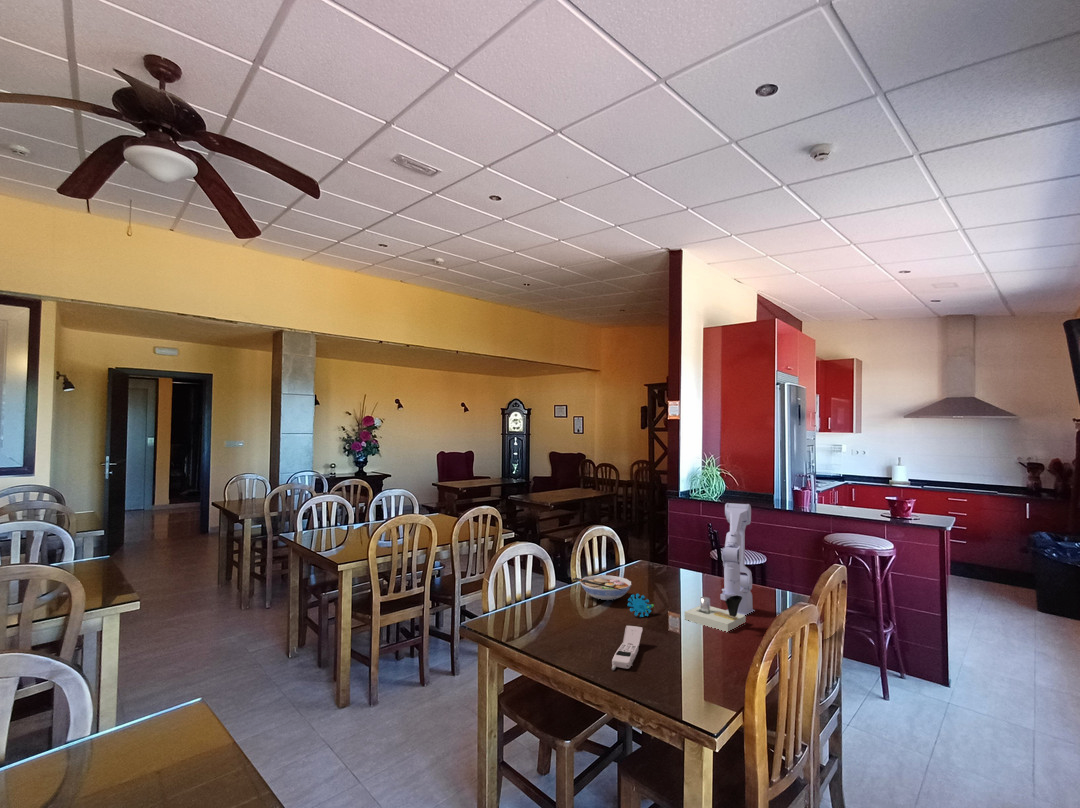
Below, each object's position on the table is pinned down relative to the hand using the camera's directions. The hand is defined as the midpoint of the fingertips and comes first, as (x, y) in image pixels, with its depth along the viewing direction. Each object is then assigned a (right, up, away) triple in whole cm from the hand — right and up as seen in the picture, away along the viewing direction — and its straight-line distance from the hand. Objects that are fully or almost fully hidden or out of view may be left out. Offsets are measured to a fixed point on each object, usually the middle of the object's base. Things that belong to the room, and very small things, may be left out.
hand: (732, 615), depth 194 cm
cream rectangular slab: (-5, -5, +5) cm, 9 cm away
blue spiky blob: (-32, -5, +13) cm, 35 cm away
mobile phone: (-45, -3, -27) cm, 52 cm away
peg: (-8, -5, +8) cm, 12 cm away
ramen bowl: (-44, -6, +33) cm, 56 cm away
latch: (-2, -1, +2) cm, 3 cm away
